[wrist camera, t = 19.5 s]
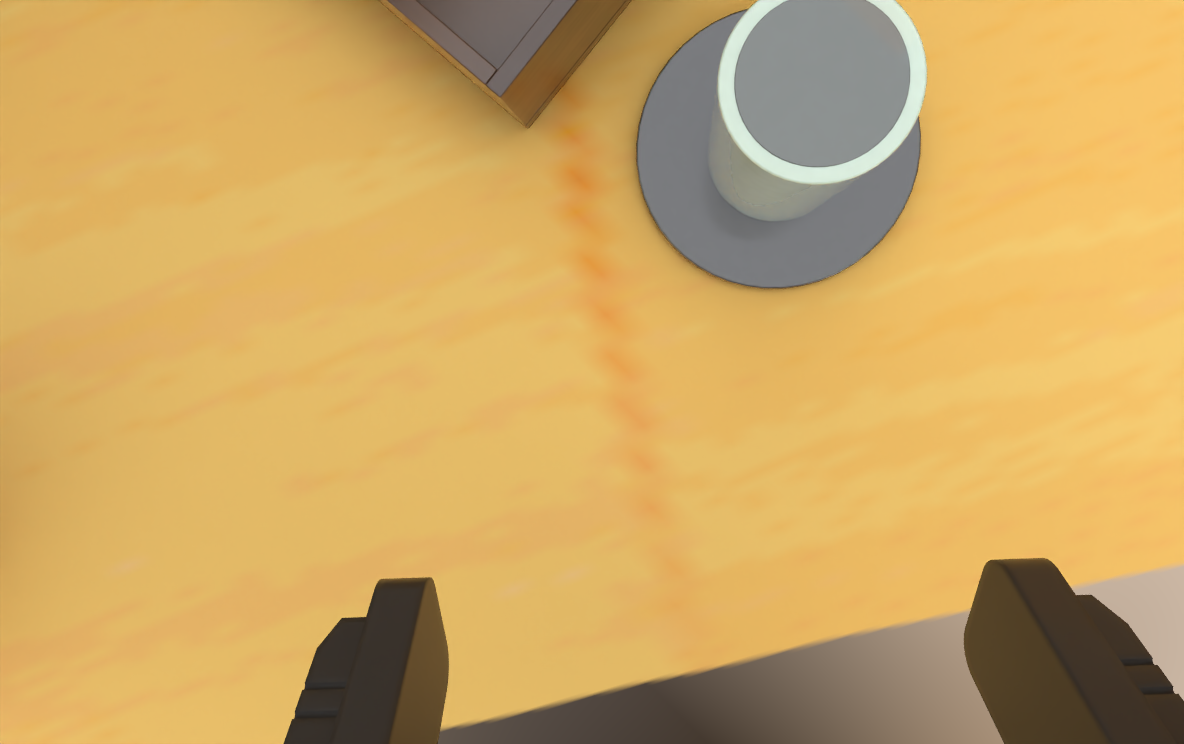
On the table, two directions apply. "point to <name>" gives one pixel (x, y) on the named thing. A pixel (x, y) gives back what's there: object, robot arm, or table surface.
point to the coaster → (715, 227)
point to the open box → (512, 43)
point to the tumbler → (811, 101)
